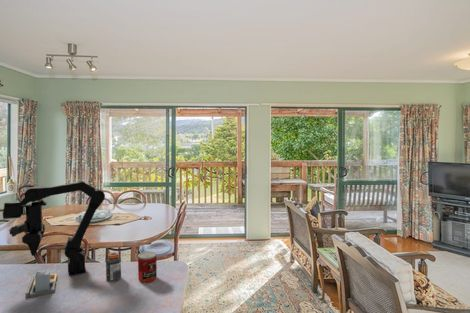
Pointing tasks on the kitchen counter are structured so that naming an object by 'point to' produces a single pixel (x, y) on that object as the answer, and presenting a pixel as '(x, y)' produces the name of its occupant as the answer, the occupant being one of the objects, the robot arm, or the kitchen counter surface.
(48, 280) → the blue-grey box
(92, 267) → the kitchen counter surface
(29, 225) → the robot arm
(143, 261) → the canned food
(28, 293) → the cubby shelf with drawer
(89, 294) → the kitchen counter surface
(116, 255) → the pill bottle
